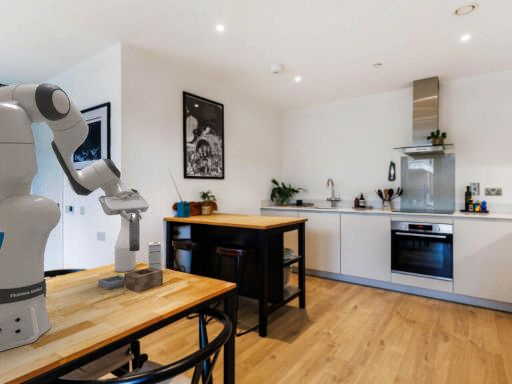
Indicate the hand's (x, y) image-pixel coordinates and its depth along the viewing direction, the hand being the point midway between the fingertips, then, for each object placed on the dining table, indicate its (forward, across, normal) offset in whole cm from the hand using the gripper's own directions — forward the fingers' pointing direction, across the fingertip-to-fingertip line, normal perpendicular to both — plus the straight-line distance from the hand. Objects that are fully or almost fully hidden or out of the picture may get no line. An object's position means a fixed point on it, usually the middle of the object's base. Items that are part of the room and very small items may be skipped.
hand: (135, 219), depth 124 cm
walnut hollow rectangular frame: (+22, +2, +17) cm, 28 cm away
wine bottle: (+2, +15, +38) cm, 41 cm away
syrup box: (+14, +19, +26) cm, 35 cm away
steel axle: (+9, 0, +10) cm, 13 cm away
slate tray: (+13, -3, +26) cm, 29 cm away
